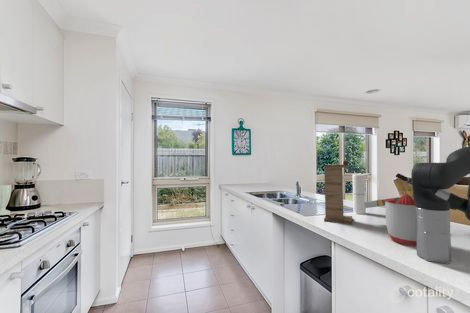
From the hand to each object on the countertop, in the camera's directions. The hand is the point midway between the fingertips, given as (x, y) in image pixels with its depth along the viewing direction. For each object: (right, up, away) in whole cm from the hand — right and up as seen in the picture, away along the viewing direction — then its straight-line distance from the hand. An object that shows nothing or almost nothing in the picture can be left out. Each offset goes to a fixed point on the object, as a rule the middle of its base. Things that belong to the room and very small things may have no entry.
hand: (397, 175), depth 119 cm
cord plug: (-5, -16, +2) cm, 17 cm away
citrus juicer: (-12, -26, -22) cm, 37 cm away
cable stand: (-25, -27, +13) cm, 39 cm away
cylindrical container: (-4, -27, +30) cm, 41 cm away
